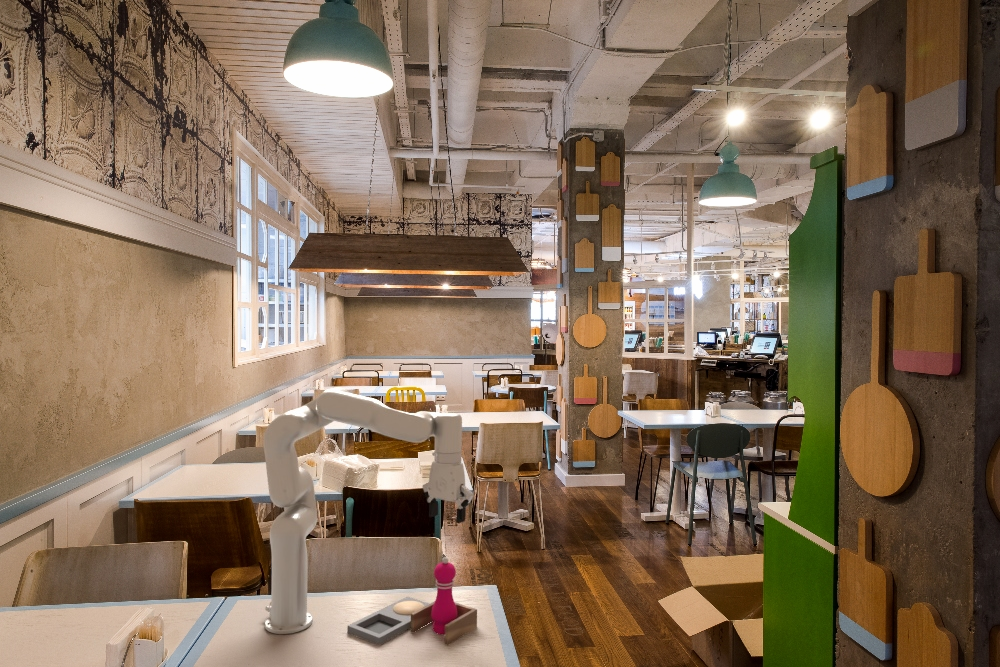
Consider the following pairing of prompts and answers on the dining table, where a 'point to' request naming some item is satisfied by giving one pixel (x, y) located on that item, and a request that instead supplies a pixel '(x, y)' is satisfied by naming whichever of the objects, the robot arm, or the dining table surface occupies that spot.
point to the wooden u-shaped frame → (453, 629)
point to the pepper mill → (444, 596)
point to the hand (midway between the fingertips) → (446, 519)
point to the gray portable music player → (386, 621)
